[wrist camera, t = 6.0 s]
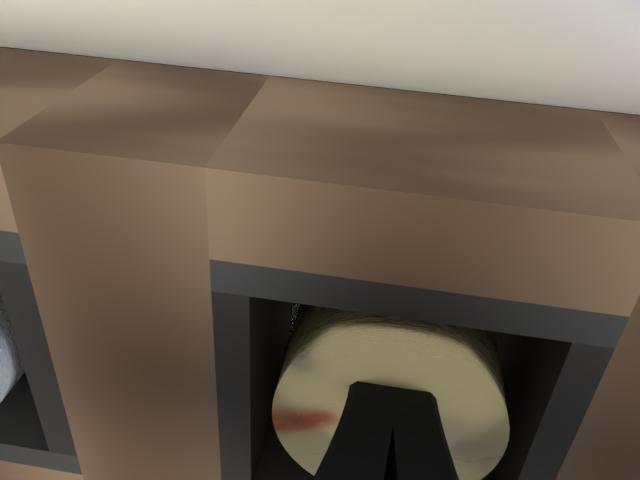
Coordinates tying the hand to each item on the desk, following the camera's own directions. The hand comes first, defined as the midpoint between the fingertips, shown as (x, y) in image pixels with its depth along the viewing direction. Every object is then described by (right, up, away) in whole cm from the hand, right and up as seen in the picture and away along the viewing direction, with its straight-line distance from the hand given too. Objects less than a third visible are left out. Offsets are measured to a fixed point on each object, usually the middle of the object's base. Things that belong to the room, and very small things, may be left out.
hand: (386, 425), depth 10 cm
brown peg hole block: (-4, +3, +4) cm, 6 cm away
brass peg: (+1, +2, +3) cm, 4 cm away
